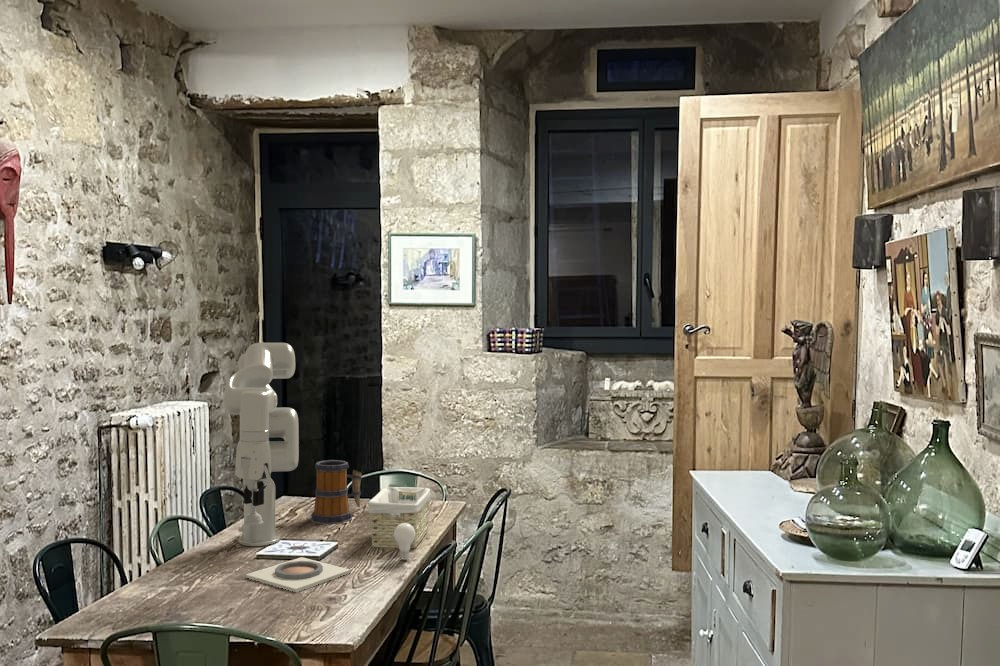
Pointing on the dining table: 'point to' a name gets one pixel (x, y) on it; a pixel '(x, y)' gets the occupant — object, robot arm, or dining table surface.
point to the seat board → (298, 574)
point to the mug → (334, 492)
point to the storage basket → (398, 514)
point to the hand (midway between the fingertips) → (253, 503)
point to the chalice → (254, 516)
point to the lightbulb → (404, 539)
